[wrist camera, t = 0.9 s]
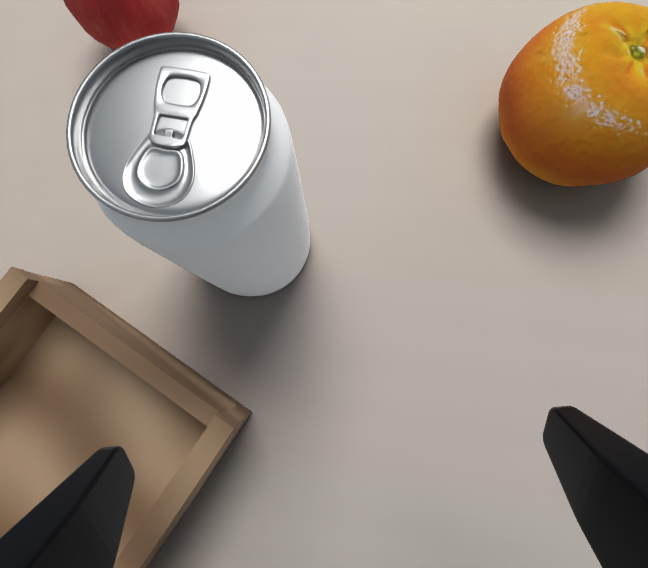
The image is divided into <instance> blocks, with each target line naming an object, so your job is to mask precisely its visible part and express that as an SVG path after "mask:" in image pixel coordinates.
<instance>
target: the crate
mask: <svg viewBox="0 0 648 568" xmlns="http://www.w3.org/2000/svg"><path fill="white" fill-rule="evenodd" d="M251 413H252V412H251V411H250V410H249V409H247V408H246V407H244V406H243V405H242V404H240V403H239V402H237V401H236V400H235V399H233V398H232V397H231V396H229V395H228V394H226V393H225V392H224V391H222V390H221V389H219V388H218V387H217V386H215V385H214V384H212V383H211V382H210V381H208V380H207V379H205V378H204V377H203V376H201V375H200V374H198V373H197V372H196V371H194V370H193V369H191V368H190V367H189V366H187V365H186V364H184V363H183V362H182V361H180V360H179V359H177V358H176V357H175V356H173V355H172V354H171V353H169V352H168V351H166V350H165V349H164V348H162V347H161V346H159V345H158V344H157V343H155V342H154V341H152V340H151V339H150V338H148V337H147V336H145V335H144V334H143V333H141V332H140V331H138V330H137V329H136V328H134V327H133V326H131V325H130V324H129V323H127V322H126V321H124V320H123V319H122V318H120V317H119V316H117V315H116V314H115V313H113V312H112V311H111V310H109V309H108V308H106V307H105V306H104V305H102V304H101V303H99V302H98V301H97V300H95V299H94V298H92V297H91V296H90V295H88V294H87V293H85V292H84V291H83V290H81V289H80V288H78V287H77V286H76V285H74V284H73V283H69V282H66V281H62V280H58V279H54V278H50V277H46V276H42V275H38V274H34V273H31V272H27V271H24V270H22V269H18V268H14V267H11V268H10V269H9V270H8V272H7V273H6V274H5V275H4V277H3V278H2V279H1V280H0V538H1V537H2V536H3V535H4V534H5V533H6V532H8V531H9V530H10V529H11V528H12V527H13V526H14V525H15V524H16V523H17V522H19V521H20V520H21V519H22V518H23V517H24V516H25V515H26V514H27V513H29V512H30V511H31V510H32V509H33V508H34V507H35V506H36V505H37V504H38V503H40V502H41V501H42V500H43V499H44V498H45V497H46V496H47V495H48V494H50V493H51V492H52V491H53V490H54V489H55V488H56V487H57V486H58V485H59V484H61V483H62V482H63V481H64V480H65V479H66V478H67V477H68V476H69V475H71V474H72V473H73V472H74V471H75V470H76V469H77V468H78V467H79V466H80V465H82V464H83V463H84V462H85V461H86V460H87V459H88V458H89V457H90V456H92V455H93V454H94V453H95V452H96V451H97V450H99V449H100V448H103V447H111V446H121V447H122V448H123V449H124V450H125V452H126V454H127V456H128V458H129V460H130V462H131V464H132V466H133V469H134V472H135V482H134V486H133V491H132V495H131V499H130V503H129V507H128V512H127V516H126V520H125V524H124V528H123V533H122V537H121V541H120V545H119V549H118V553H117V557H116V560H115V564H114V567H113V568H148V567H149V565H150V564H151V562H152V561H153V559H154V558H155V556H156V555H157V553H158V552H159V550H160V549H161V547H162V546H163V544H164V543H165V542H166V540H167V539H168V537H169V536H170V534H171V533H172V531H173V530H174V528H175V527H176V525H177V524H178V522H179V521H180V519H181V518H182V516H183V515H184V513H185V512H186V510H187V509H188V507H189V506H190V504H191V503H192V501H193V500H194V498H195V497H196V495H197V494H198V492H199V491H200V489H201V488H202V486H203V485H204V483H205V482H206V480H207V479H208V477H209V476H210V474H211V473H212V471H213V470H214V468H215V467H216V465H217V464H218V462H219V461H220V459H221V458H222V456H223V455H224V453H225V452H226V450H227V449H228V447H229V446H230V444H231V443H232V442H233V440H234V439H235V437H236V436H237V434H238V433H239V431H240V430H241V428H242V427H243V425H244V424H245V422H246V421H247V419H248V418H249V416H250V415H251Z"/></svg>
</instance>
